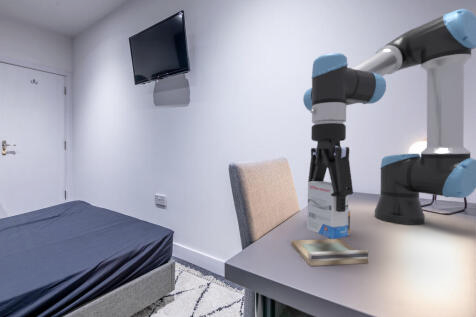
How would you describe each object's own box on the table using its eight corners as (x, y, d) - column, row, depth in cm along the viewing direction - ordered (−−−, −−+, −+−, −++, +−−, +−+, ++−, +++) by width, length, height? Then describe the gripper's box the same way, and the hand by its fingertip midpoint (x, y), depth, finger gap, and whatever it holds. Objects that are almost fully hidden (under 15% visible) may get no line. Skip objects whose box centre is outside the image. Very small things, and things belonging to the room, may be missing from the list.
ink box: (348, 236, 55) (350, 184, 55) (332, 239, 53) (333, 185, 53) (321, 226, 63) (322, 180, 62) (306, 228, 61) (307, 181, 60)
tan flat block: (338, 242, 65) (338, 233, 65) (368, 263, 53) (368, 251, 52) (291, 244, 63) (291, 234, 63) (310, 266, 51) (310, 254, 51)
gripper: (296, 128, 68) (295, 209, 68) (337, 116, 46) (335, 235, 46) (322, 128, 68) (320, 208, 69) (375, 117, 47) (372, 234, 47)
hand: (326, 219), depth 58 cm, fingers closed on ink box, 9 cm apart
